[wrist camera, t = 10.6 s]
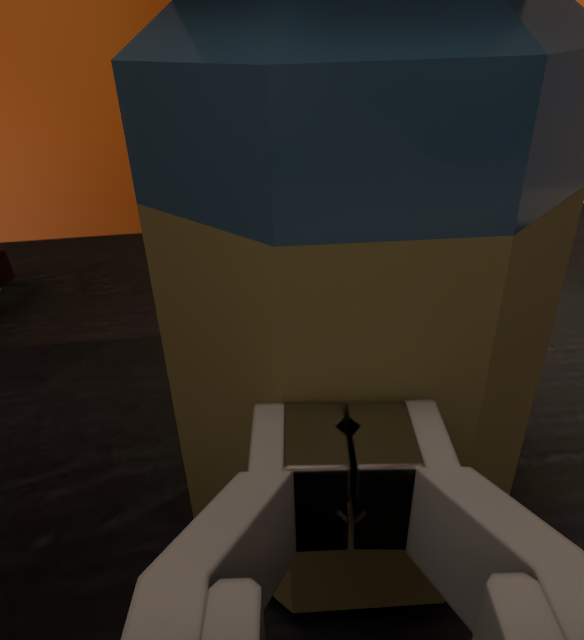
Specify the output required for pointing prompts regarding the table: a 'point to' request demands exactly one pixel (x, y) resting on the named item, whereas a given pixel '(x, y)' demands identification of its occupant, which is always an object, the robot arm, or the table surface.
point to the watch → (5, 269)
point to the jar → (355, 225)
